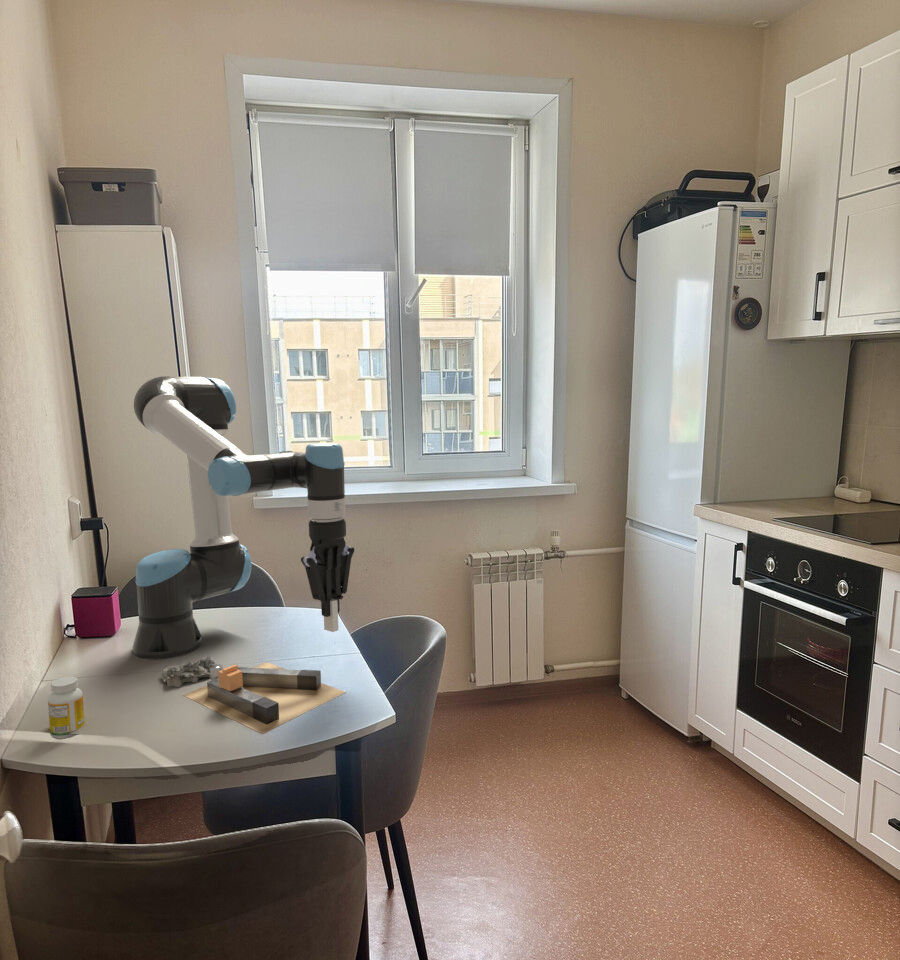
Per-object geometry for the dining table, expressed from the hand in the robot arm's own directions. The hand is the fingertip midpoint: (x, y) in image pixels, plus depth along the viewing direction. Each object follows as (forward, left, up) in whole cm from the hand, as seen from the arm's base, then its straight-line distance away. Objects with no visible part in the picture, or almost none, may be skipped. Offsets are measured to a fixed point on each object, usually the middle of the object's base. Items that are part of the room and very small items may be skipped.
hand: (331, 629), depth 135 cm
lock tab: (-6, -20, -7) cm, 22 cm away
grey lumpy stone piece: (-24, -18, -12) cm, 32 cm away
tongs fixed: (-5, -19, -10) cm, 22 cm away
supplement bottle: (-22, -43, -11) cm, 50 cm away
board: (-4, -14, -11) cm, 18 cm away
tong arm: (-6, -10, -10) cm, 15 cm away
